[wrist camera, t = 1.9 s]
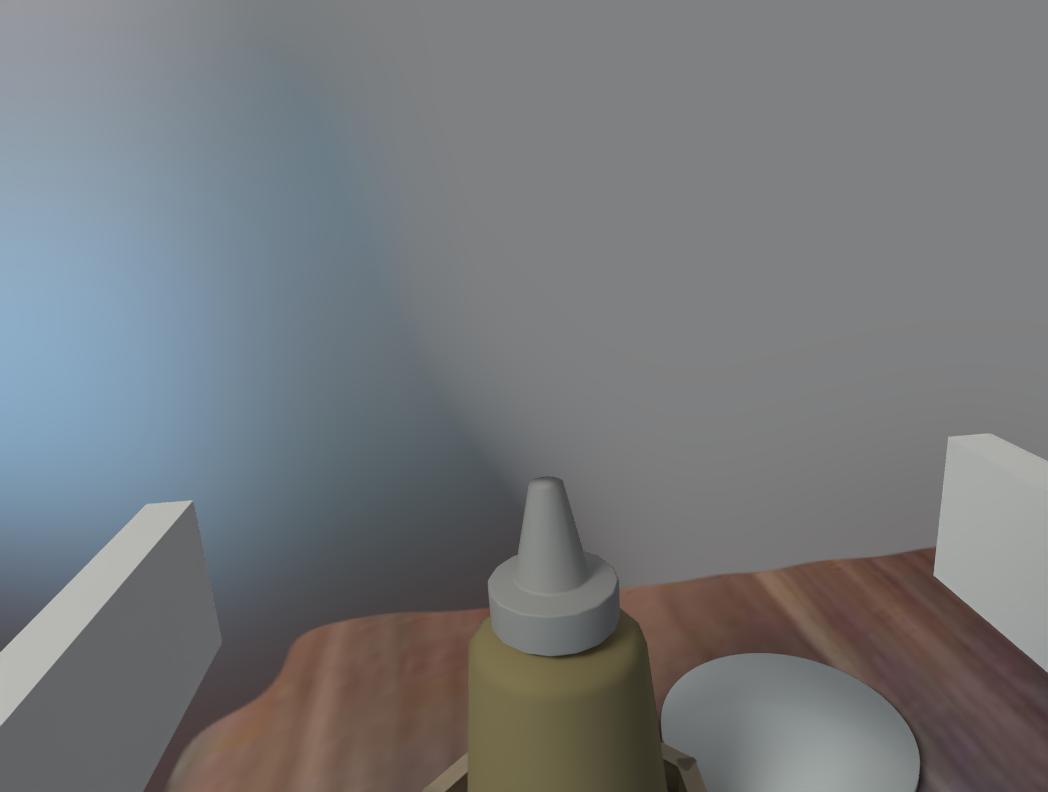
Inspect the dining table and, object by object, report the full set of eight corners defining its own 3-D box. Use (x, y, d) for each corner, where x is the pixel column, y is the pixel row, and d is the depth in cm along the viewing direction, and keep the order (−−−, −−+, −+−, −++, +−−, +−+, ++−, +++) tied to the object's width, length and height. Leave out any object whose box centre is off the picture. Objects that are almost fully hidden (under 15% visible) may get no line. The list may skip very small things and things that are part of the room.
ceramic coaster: (842, 655, 43) (843, 643, 43) (977, 828, 32) (979, 813, 32) (638, 676, 43) (638, 664, 42) (700, 861, 31) (700, 846, 31)
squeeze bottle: (456, 985, 27) (398, 542, 22) (489, 804, 35) (452, 444, 30) (682, 999, 26) (678, 538, 21) (665, 810, 34) (659, 438, 29)
